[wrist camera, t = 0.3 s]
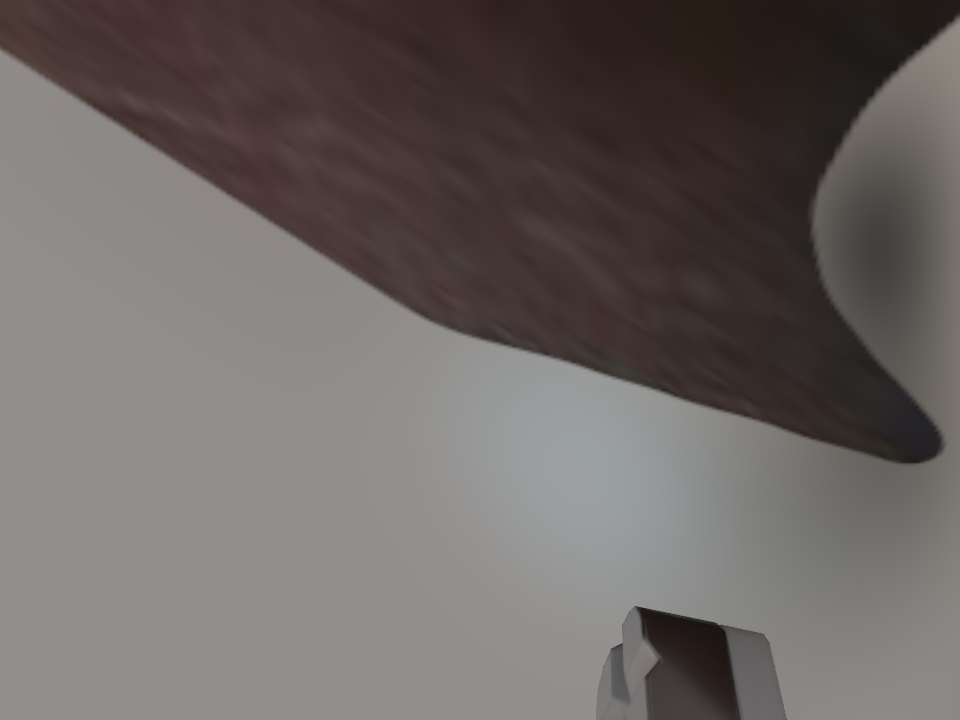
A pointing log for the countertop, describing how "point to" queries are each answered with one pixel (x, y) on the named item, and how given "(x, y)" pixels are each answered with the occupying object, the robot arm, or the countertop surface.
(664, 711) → the robot arm
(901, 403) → the countertop surface
